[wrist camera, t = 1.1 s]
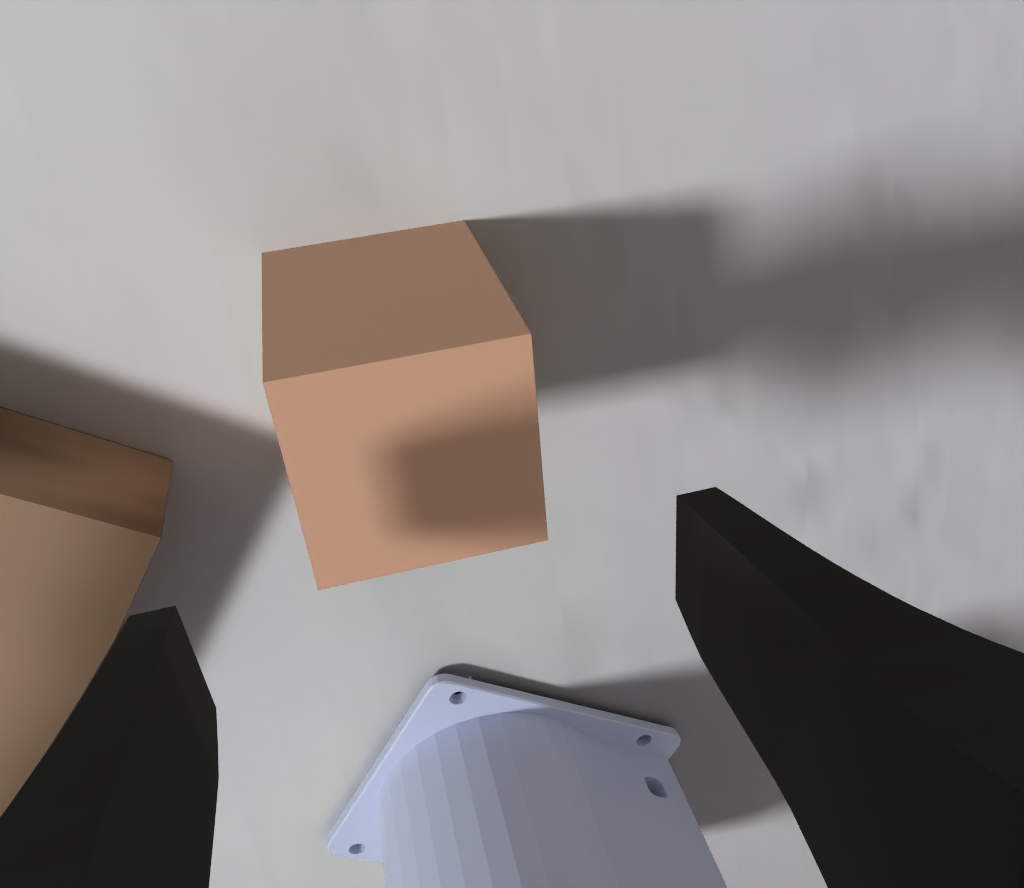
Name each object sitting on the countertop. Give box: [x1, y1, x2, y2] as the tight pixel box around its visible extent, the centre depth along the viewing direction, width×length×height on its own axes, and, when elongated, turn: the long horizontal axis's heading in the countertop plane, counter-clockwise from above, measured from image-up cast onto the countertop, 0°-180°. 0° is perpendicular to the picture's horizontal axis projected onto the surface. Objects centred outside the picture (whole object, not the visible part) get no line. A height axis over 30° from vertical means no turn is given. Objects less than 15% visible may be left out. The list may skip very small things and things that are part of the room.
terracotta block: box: [262, 220, 548, 590], centre depth 18 cm, size 4×4×6 cm
